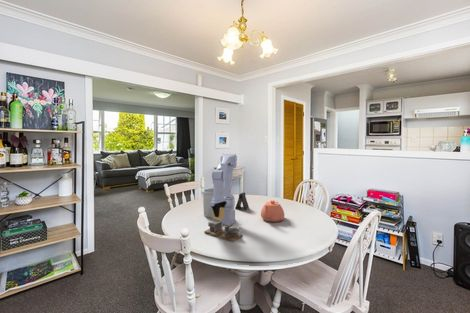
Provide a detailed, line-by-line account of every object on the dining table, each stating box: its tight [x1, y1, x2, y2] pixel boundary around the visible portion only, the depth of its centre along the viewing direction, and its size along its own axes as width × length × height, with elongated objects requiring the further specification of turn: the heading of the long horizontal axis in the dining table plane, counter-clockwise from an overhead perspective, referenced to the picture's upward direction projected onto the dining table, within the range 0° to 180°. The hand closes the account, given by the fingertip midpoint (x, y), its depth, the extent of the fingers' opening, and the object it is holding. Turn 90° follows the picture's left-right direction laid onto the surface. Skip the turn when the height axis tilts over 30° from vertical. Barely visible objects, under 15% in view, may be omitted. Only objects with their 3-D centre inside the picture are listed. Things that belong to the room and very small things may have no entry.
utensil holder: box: [202, 187, 214, 219], centre depth 162 cm, size 15×15×18 cm
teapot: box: [260, 199, 285, 223], centre depth 153 cm, size 22×16×12 cm
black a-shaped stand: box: [234, 192, 250, 211], centre depth 176 cm, size 9×6×12 cm, turn 64°
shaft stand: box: [203, 220, 244, 243], centre depth 128 cm, size 20×9×6 cm, turn 55°
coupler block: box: [212, 207, 224, 221], centre depth 129 cm, size 5×4×6 cm
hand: (218, 215), depth 129 cm, fingers closed on coupler block, 4 cm apart
